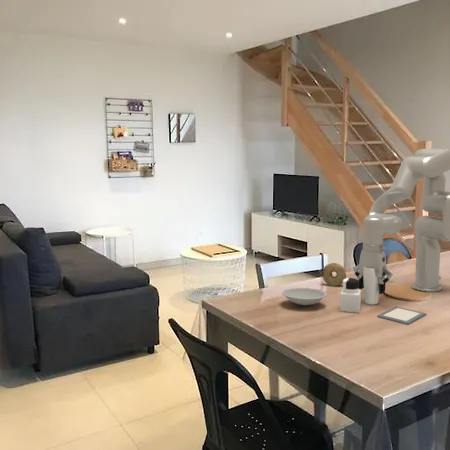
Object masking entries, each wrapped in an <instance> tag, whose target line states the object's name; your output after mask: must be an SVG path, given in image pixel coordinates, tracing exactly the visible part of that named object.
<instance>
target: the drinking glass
mask: <svg viewBox="0 0 450 450" xmlns="http://www.w3.org/2000/svg"><path fill="white" fill-rule="evenodd" d="M363 282H364V288H363V295H364V300H363V301H364V303H365V304H367V305H378V303H379V295H380V294H379V284H381V283H380V281H379V279H378V278H376V276H375V269H374V268H366V267H364V270H363Z"/></svg>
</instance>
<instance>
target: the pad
mask: <svg viewBox="0 0 450 450" xmlns="http://www.w3.org/2000/svg"><path fill="white" fill-rule="evenodd" d="M426 315H427V313H426V312H421V311H416V310H413V309H408V308H405V307H400V306H394V307H392V308H389V309H388V310H385V311H384V312H382V313H380V314H378V315H377V316H376V317H377V318H380V319H384V320H387V321H392V322H394V323H400V324H402V325H403V324H404V325H406V326H409V325H412V324H413V323H414V322H416V321H418V320H420V319H421V318H423V317H425V316H426Z"/></svg>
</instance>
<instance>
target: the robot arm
mask: <svg viewBox="0 0 450 450" xmlns="http://www.w3.org/2000/svg"><path fill="white" fill-rule="evenodd" d="M413 155H414V156H413ZM413 155H412V156H408V157H405V158H404V159H403V160H402V162H401V164H400V166H399V169H398V170H397V173H396V175H395V177H394V180H393V181H392V183H391V184H392V185H391V187H390V188H389V189H388V190H386V191H385V192H384V193H383V194H381V195H380V196H379V197H378V198H377V199H376V200H375V201H374V202H373V204H372V205H371V208H370V209H369V212H368V214H367V216H365V217H364V218H363V228H362V229H363V232H362V236H363V237H362V250H361V252H360V255H359V261H358V264H357V265H356V266H355V265H354V267H352V270H353V272H354V276H356V279H357V280H359V290H361V291H362V290H364V282H363V270H364V267H366V268H374V269H375V276H376V278H378V279H379V281H380V284H379V295H382V294H384V293H385V292H386V284H387V283H388V282H389V281H390V280H391V278H392V277H393V274H392V272H390V270H389V269H387V257H386V253H385V251H386V249H387V247H386V246H384V235H395V234H398V233H399V232H400V231H402V228H403V220H402V219H401V218H400V217H399V216H398V215H394V214H388V213H387V214H386V213H385V212H386V210H388V208H390V207H391V206H392V205H394V204H398V203H400V202H403V201H405V200H407V199H409V198H411V197H412V196H413V192H414V190H415V188H416V185H417V184H418V181H419V180H420V179H423V185H422V186H423V187H422V188H423V189H422V194H421V197H422V198H421V208H422V210H423V211H424V212H426V213H432V214H439V215H442V217H441V216H433V215H422V216H420V217H418V218H416V221H415V223H414V231H415V238H416V240H415V241H416V254H415V256H416V257H415V273H414V274H415V275H414V276H415V279H414V282H412V283H411V285H410V287H411V288H412V289H413V288H414V289H413V290H415V289H417V290H416V291H419V290H421V291H420V292H425V291H426V292H428V293H431V292H432V293H436V292H441V291H442V290H443V286H442V284H440V283H439V281H441V279H442V278H441V276H440V266H441V265H440V264H441V263H440V262H441V261H440V260H441V245H440V243H439V241H442V242H450V191H446V176H445V173H446V172H448V171H450V149H449V148H421V149H418V150H416V152H414V154H413Z"/></svg>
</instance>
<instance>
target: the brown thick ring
mask: <svg viewBox="0 0 450 450" xmlns="http://www.w3.org/2000/svg"><path fill="white" fill-rule="evenodd" d="M332 273H335V274H336V275H335V276H334V275H333V274H332ZM346 278H347V273H346V269H345V268H344V266H343V265H341V264H339V263H336V262H331V263H327V264H326V265H325V266H324V268H323V271H322V280H323V281H324V283H325V284H326V285H328V286H333V287H335V286H341V285H343V280H344V279H346Z"/></svg>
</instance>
